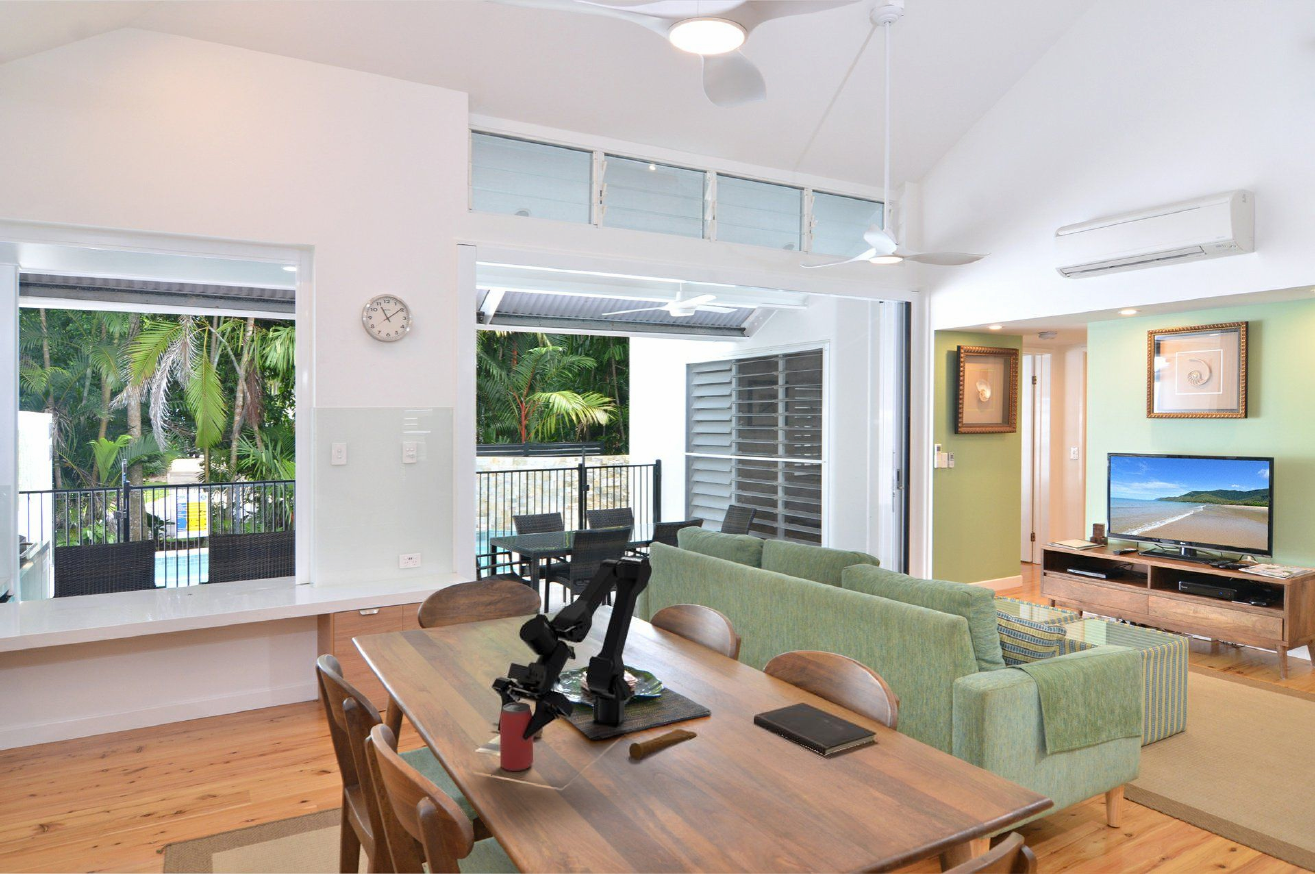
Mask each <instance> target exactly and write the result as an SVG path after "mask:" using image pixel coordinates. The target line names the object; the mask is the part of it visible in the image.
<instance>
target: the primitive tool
mask: <svg viewBox="0 0 1315 874" xmlns="http://www.w3.org/2000/svg"><path fill="white" fill-rule="evenodd" d="M697 736H698V734H697V733H696V732H695V731H691V730H688V731H687V730H684V729H681V728H680V729H679V728H677V729H675V730H672V731H669V732H667V733H665V734H663V735H660V736H657V737H655V738H652V739H649V740H646V741H643V742H640V743H637V742H633V743H631V744H630V746H629V748H628V749H629V750H628V754H629V757H631V758H632V759H634V760H640V759H642V757H643V756H645V755H647V754H649V753H650V754H651V753H652V752H653V753H654V752H655V751H658V750H661V749H665V748H666V747H670V746H672V745H676V744H678V743H680V742H684V741H687V740H692V739H693V738H696V737H697Z"/></svg>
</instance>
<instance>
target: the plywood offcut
mask: <svg viewBox="0 0 1315 874" xmlns="http://www.w3.org/2000/svg"><path fill="white" fill-rule="evenodd" d="M535 738H536V737H533V740H534V739H535ZM474 752H476V753H480V754H485V755H492V756H497V757H500V734H499V735H497V736H496V737H494V738H493V739H491V740H489V741H487V742H486V743H485V744H483V745H482V746H480V747H479V748H477V749H476V750H474Z"/></svg>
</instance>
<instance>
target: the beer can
mask: <svg viewBox="0 0 1315 874" xmlns="http://www.w3.org/2000/svg"><path fill="white" fill-rule="evenodd" d="M500 714H501V717H500V716H499V720H500V732H499V735H500V756H499V757H500V758H499V761H500V766H501V767H502V768H503V769H504V770H507V771H511V772H517V771H519V772H520V771H523V770H526V769H528V768H530V767H531V766H532V765H533V763H534V739H533V735H532V736H531V737H530V738H529V739H527V740H524V739H523V735H524V732H525V730H526V728H527V726H528V724H529V722H530V720H531V718H532V716H533V712H532V709H531V705H530V704H529V703H528V702H527V703H526V702H520V701H518V702H514V703H509V704H506V705H505V706H504V707H503V711H502V713H501V712H500Z"/></svg>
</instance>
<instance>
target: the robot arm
mask: <svg viewBox="0 0 1315 874" xmlns="http://www.w3.org/2000/svg"><path fill="white" fill-rule="evenodd" d="M649 561H650V560H648V559H646V558H640V557H632V556H622V557H621V558H619V559H604V560H602V562H601V563H600V565H599V568H598V570H597V571H596V572H595V574H594V575H593V577H592V578H591V579H590V581H589V582H588V583H587V584H586V586H585V588H584V589H582V591H581V593H580V594H579V596H578V597H577V598H576V600H574V602H572V603H570V604H568V605H566V606H564V607H563V608H561V610H560V611H559V612H558V613H557V614H556V615H555V616H554V617H553V619H551V620H549V618H548V617H547V615H545V614H542V613H537V614H536V615H535V617H533V618H530V619H529V620H527V621H526V622H525V623H524V624H522V626H521V627H520V629H519V633H518V634H519V635H518V637H519V638H520V640H521V641H523V643H524V644H526V646H527V647H528V648H529V649H530V651H532V653H534V654H535V655H536V656H538V657H537V659H536V661H535V662H534V661H531V662H530V663H528V665H527V666H526V665H522V664H518V663H514V662H511V663H510V667H509V670H508V673H507V675H506V677H503V676H499V677H497V678H495V679H494V682H493V683H492V685H491V688H492V690H493V691H495V693H497V694H498V695H499V697H500V698H501V710H500V713H499V718H500V717H501V713H502V711H503V707H504V706H505V705H506V704H509V703H514V702H520V700H521V699H522V700H527V701H529V702H533V703H535V705H534V706H535V708H534V712H533V713H532V718H531V720H530V722H529V724H528V726H527V728H526V730H525V732H524V735H523V739H524V740H527V739H529V738H530V737H531V736H532V735H534V734H535V733H536V732H538V731H539V730H540V729H541V728H544V727H546V726H547V725H548V724H550V723H551V722H553V721H555V720H559V719H560V717H563V718H566V719H570V718H571V715H572V714H573V713H574V703H573V702H572V701H571V700H570V699H569V698H568V697H567V696H566V695H565V694H564V693H562V692H559V691H556V690H552V689H553V688H554V686H555V684H557V685H560V684H561V682H562V679H561V678H560V676H561V675H560V674H561V673H562V671H563V670H564V667H565V665H566V663H567V661H568V660H574V661H575V660H576V659H577V655H576V652H575V647H574V646H572V645H568V644H567V643H566V642H569V643H575V644H578V643H582V642H583V641H584V640H585V639H586V638H587V636H588V633H589V632H590V630H591V628H592V626H593V616H594V614H595V613H596V611H597V609H598V608H599V607H600V606H601V604H602V603H603V601H604V599H605V598H606V597H607V595H608V594H609V593H610V591H611V590H612V588H613V587H614V585H615V587H616V596H615V599H614V602H613V606H612V609H611V610H612V611H611V614H610V618H609V622H608V624H607V627H606V628H607V629H606V632H605V636H604V640H603V643H602V647H601V651H599V653H598V654H597V655H596V656H593V655H591V657H590V658H589V661H588V667H587V668H586V671H585V674H586V675H585V676H586V677H585V683H587V688H588V692H589V695H590V696H594V701H593V702H592V708H593V709H592V719H593V720H592V721H591V724H593V725H599V726H605V727H609V728H610V727H612V728H618V727H619V726H621V724H623V723H624V722H626V721H627V720H628V716H625V714H626V713H625V711H626V710H625V706H626V705H625V703H626V701H628V699H629V698H630V697H631V694H632V693H631V692H632V687H631V685H630V684H629V682H628V681H627V680H626V679H625V674H626V668H625V664H624V663H625V662H624V660H623V654H624V649H625V645H626V642H627V639H628V635H629V630H630V627H631V623H632V618H633V615H634V614H633V613H634V612H635V611H634V610H635V608H636V603H637V599H638V597H639V595H640V594H641V593H642V592H644V590H645V589H646V588H647V586H648V584H649V581H650V578H651V575H652V572H653V569H652V565H651V563H650V562H649ZM565 641H566V642H565ZM512 679H514V680H516V681H517V682H514V680H512ZM516 683H517V684H518V685H519V686H518V685H517V684H516ZM520 686H521V687H520ZM498 723H499V725H498V726H497V731H498V732H499V733H500V719H499V720H498Z"/></svg>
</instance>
